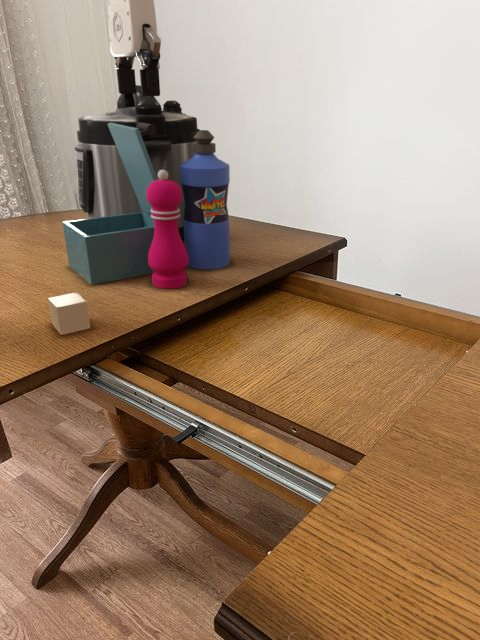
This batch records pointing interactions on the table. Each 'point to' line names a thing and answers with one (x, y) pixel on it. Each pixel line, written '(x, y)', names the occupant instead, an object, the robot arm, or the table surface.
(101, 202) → the pressure cooker
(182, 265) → the pepper mill
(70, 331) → the block
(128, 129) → the bin lid
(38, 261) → the table surface
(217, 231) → the water bottle
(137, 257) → the bin
